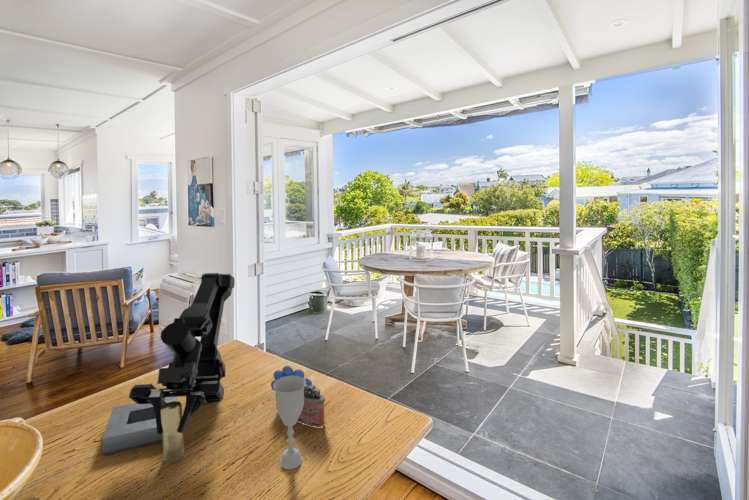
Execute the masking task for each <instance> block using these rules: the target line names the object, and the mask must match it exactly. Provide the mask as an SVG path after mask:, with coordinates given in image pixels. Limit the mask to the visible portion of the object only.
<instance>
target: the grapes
mask: <svg viewBox="0 0 749 500" xmlns="http://www.w3.org/2000/svg"><path fill="white" fill-rule="evenodd" d="M286 376H299V377H302V378H304V379H305V380H306V384H305V385H308V386H312V385H313V382H312V380H311V379H309V378H307V377H305V373H304V371H303V370H302V369H300V368H297V369H293V368H292V366H289V365H286V366H285V365H284V367H282V370H280V369H279V370H278V369H277V370H275V371H274V372H273V380H272V381H271V382H270V387H271V389H272V390H273V392H274V391H275V392H276V390H275V389H274V387H273V384H274V383H275V381H276V380H278V379H280V378H282V377H286Z"/></svg>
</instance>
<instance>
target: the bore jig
mask: <svg viewBox="0 0 749 500" xmlns="http://www.w3.org/2000/svg"><path fill="white" fill-rule="evenodd" d="M174 401H177V397H166V399H165V402H166V403H169V402H174ZM101 443H102V454H103V456H107V455H113V454H116V453H117V454H118V453H121V452H125V451H129V450H133V449H138V448H141V447H147V446H151V445H155V444H159V443H163V441H162V433H161V434H160V435H159V434H158V433H157V425H156V416H155V411H154V407H153V406H152V405H151V404H137V403H136V402H133V403H127V404H122V405H118V406H113V407H112V410H111V413H110V415H109V419H108V421H107V424H106V427H105V430H104V432H103V436H102V438H101Z"/></svg>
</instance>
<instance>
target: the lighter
mask: <svg viewBox="0 0 749 500" xmlns="http://www.w3.org/2000/svg"><path fill="white" fill-rule="evenodd" d="M325 401H326V397H325V396H324V395H321V388H318V387H316V385H314V384H312V386H308V385H305V386H304V406H303V409H302V412H301V414H300V416H299V418H298V421H299V422H301V423H304V424H307V425H310V426H316V427H321V426H323V425H324V424H325V425H326V421H325Z"/></svg>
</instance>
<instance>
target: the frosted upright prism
mask: <svg viewBox="0 0 749 500" xmlns="http://www.w3.org/2000/svg"><path fill="white" fill-rule="evenodd" d="M182 407H183V406H182V403H181V401H177V400H176V401H174V402H169V403H166V404H164V405H163V406H162V407H161V425H162V441H163V442H162V455H163V462H164V463H165V464H175V463H177V462H179V461H181V460H182V459H183V458H184V457H185V445H184V443H185V442H184V432H183V433H180V432H179V429H180V423H181V420H182V416H183V412H182V411H183V409H182Z"/></svg>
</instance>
